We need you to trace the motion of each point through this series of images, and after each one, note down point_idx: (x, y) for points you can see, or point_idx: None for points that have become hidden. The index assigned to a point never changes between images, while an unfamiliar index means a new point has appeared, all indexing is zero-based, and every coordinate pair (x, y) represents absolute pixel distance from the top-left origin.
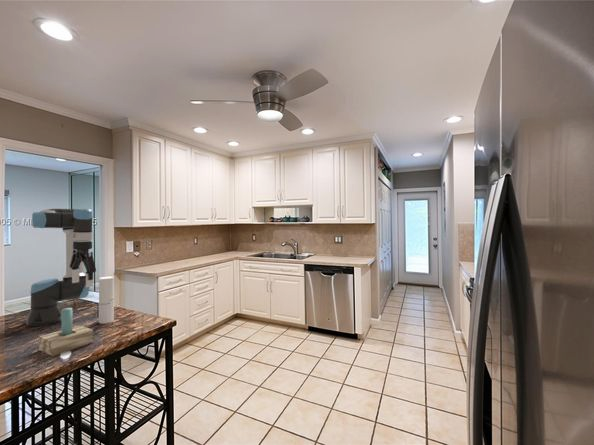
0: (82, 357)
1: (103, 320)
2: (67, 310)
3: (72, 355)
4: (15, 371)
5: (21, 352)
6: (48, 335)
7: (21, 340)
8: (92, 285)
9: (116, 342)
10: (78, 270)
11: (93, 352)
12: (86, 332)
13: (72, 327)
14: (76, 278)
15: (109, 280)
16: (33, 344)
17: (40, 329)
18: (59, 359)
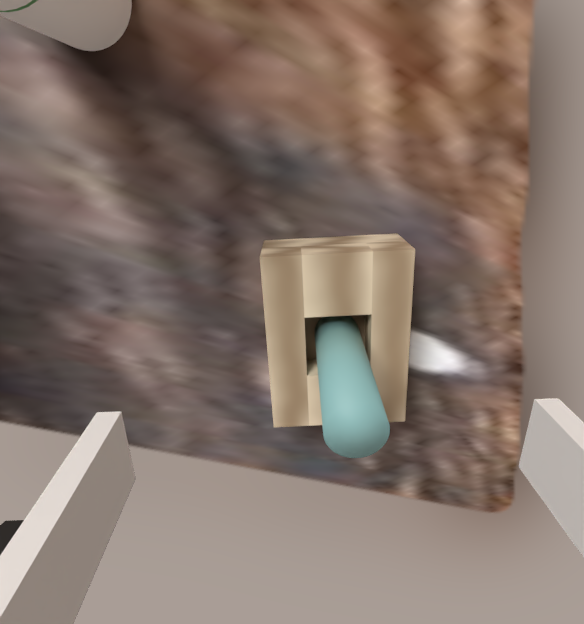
0: (514, 329)
1: (112, 31)
2: (387, 436)
3: (456, 343)
4: (410, 479)
5: (248, 431)
6: (295, 403)
7: (94, 397)
8: (562, 410)
9: (508, 161)
10: (8, 617)
11: (511, 283)
12: (412, 283)
13: (352, 338)
14: (100, 488)
15: None
16: (189, 385)
17: None
18: (447, 381)
